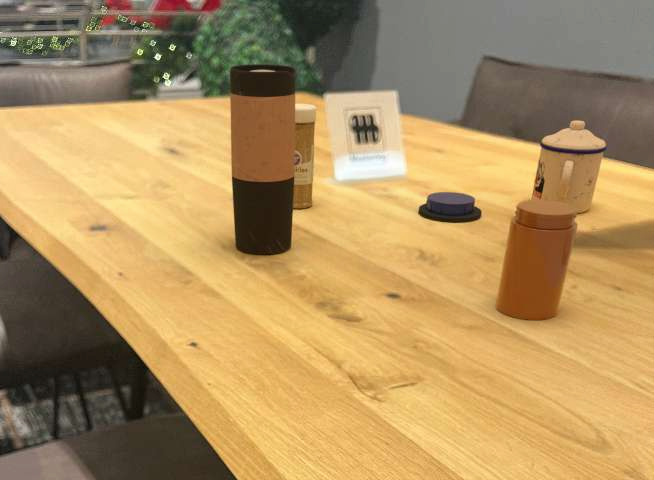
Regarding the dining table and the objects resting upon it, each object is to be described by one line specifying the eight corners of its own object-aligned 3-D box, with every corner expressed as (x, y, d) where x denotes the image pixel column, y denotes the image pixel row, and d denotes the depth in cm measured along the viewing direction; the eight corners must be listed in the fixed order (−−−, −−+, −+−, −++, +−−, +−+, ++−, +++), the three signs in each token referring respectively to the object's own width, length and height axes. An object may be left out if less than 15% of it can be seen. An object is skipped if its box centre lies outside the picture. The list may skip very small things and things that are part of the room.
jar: (544, 297, 84) (566, 198, 78) (566, 319, 79) (591, 215, 73) (488, 298, 83) (505, 199, 77) (506, 320, 78) (526, 216, 72)
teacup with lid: (531, 196, 119) (547, 114, 113) (592, 202, 117) (612, 118, 110) (524, 216, 110) (541, 128, 103) (590, 222, 108) (612, 132, 101)
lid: (445, 200, 115) (446, 189, 114) (482, 210, 110) (484, 198, 110) (416, 208, 111) (417, 197, 110) (454, 218, 107) (455, 206, 106)
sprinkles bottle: (281, 208, 112) (282, 107, 104) (284, 200, 116) (285, 102, 108) (312, 209, 112) (315, 108, 104) (314, 201, 116) (317, 103, 108)
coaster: (473, 205, 115) (474, 201, 114) (487, 222, 107) (488, 218, 107) (414, 205, 115) (414, 201, 114) (423, 222, 107) (424, 217, 107)
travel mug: (224, 242, 99) (218, 65, 87) (276, 234, 102) (277, 63, 90) (249, 259, 93) (246, 73, 82) (303, 250, 96) (308, 70, 85)
